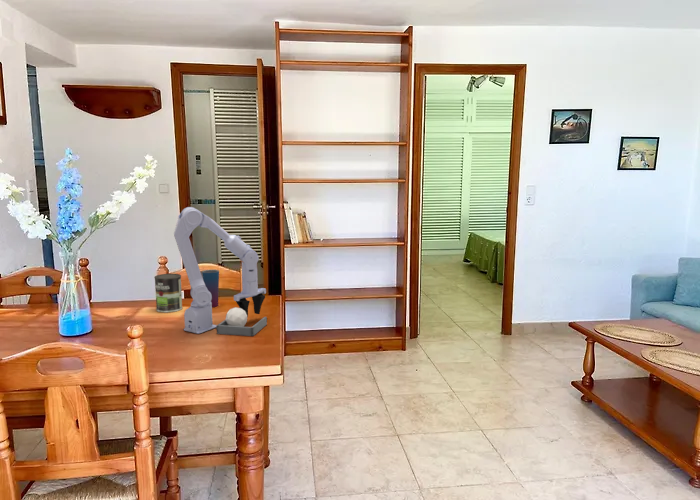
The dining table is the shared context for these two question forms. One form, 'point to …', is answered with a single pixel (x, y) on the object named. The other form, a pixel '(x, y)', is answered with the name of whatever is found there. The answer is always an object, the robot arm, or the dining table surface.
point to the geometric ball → (236, 317)
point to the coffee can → (168, 292)
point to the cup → (212, 284)
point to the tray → (241, 328)
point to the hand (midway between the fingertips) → (251, 315)
